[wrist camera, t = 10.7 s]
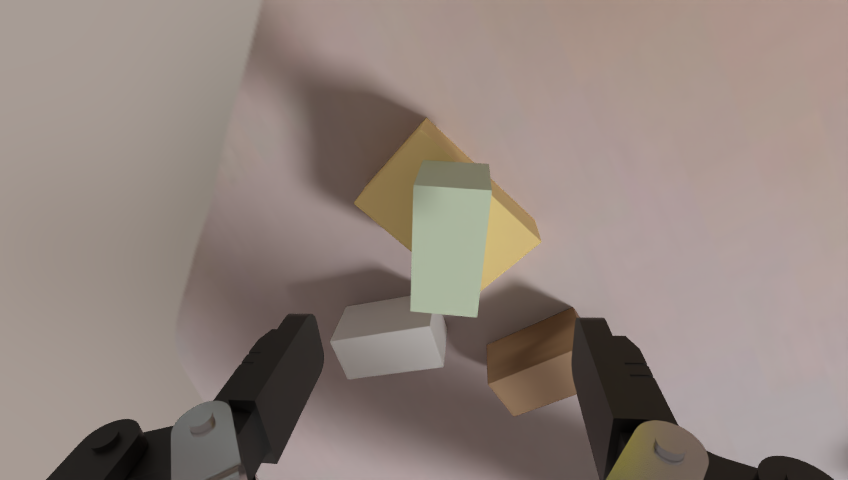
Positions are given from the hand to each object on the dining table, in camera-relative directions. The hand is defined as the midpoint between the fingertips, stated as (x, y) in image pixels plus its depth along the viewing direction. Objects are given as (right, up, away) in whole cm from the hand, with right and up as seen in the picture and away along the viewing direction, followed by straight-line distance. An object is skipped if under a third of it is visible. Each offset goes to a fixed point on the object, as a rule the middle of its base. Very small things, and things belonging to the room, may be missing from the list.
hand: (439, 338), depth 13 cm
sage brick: (+1, +4, +8) cm, 9 cm away
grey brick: (-2, -2, +14) cm, 14 cm away
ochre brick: (+1, +5, +10) cm, 12 cm away
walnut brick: (+7, -4, +14) cm, 16 cm away
